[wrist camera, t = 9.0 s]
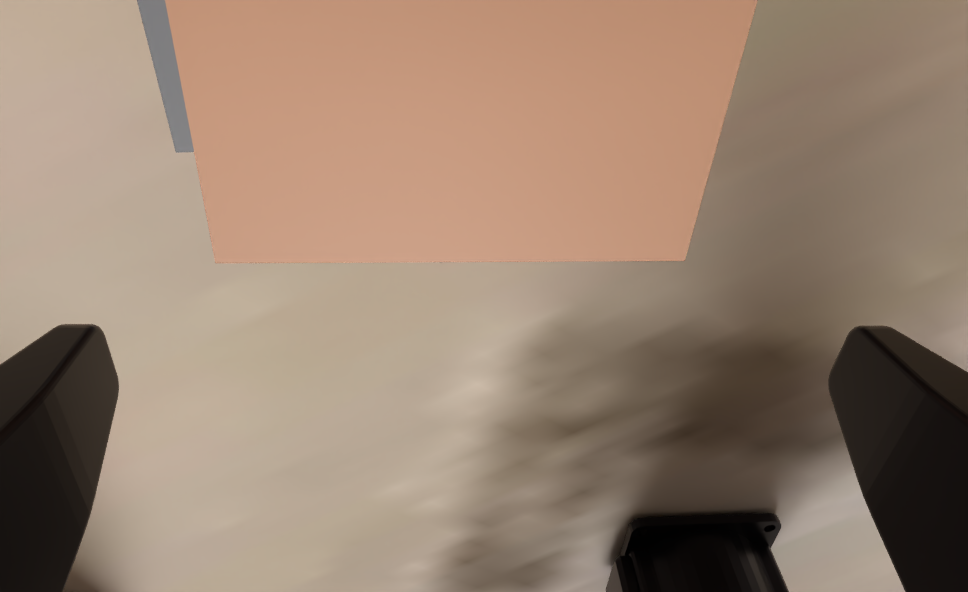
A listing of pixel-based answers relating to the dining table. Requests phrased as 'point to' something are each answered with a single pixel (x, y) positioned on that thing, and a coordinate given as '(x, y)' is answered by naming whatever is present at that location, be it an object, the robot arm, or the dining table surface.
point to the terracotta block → (455, 125)
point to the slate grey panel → (166, 70)
